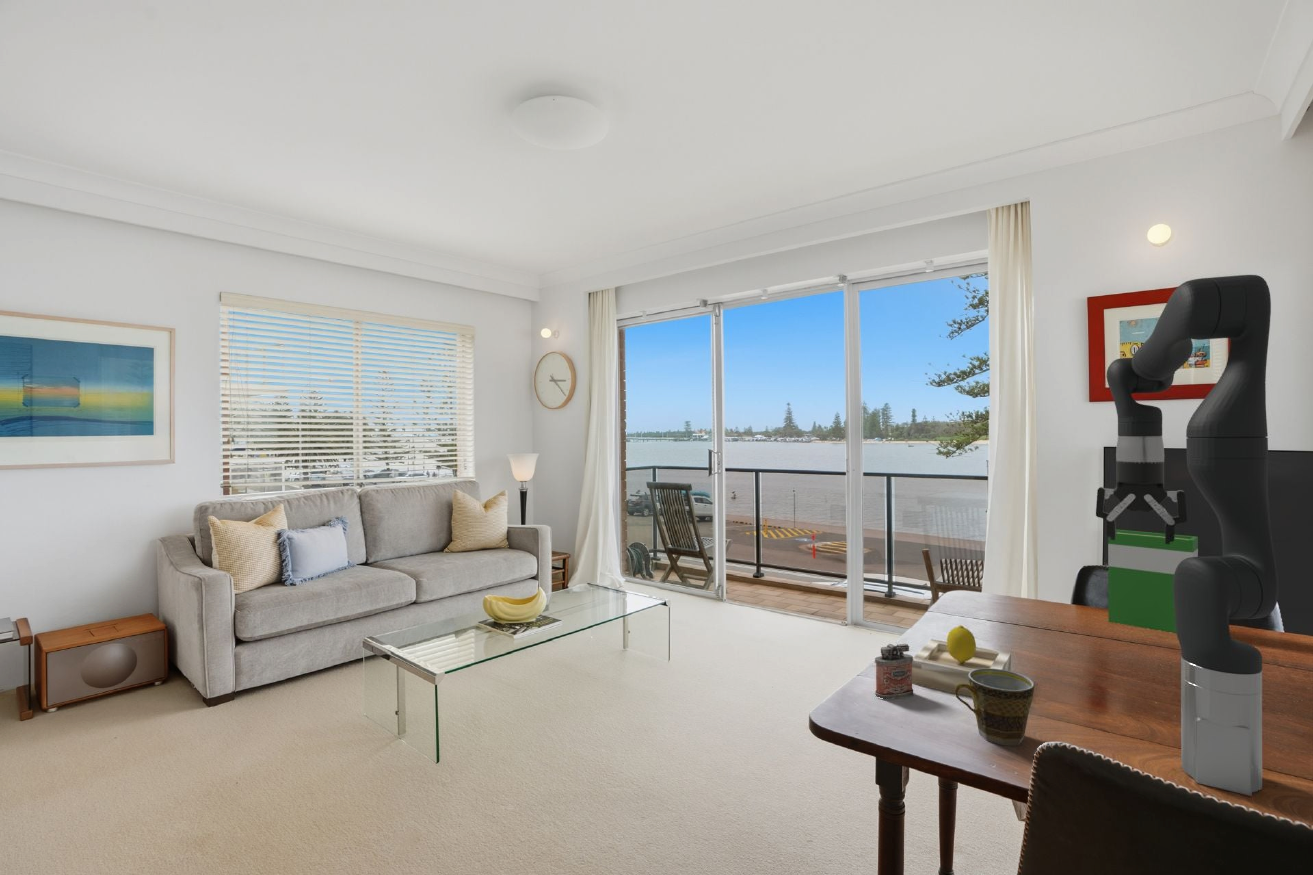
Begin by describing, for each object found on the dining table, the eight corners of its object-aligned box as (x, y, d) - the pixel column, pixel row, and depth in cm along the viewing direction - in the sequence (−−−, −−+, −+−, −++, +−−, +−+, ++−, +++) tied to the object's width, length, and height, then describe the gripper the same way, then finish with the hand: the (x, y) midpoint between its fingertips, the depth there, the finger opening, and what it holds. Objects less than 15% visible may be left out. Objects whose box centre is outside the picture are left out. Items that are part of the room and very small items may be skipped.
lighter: (881, 701, 127) (881, 650, 126) (871, 694, 130) (871, 644, 130) (917, 695, 129) (916, 645, 129) (906, 689, 132) (905, 640, 132)
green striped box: (1108, 621, 174) (1108, 532, 174) (1115, 616, 180) (1115, 529, 179) (1192, 636, 162) (1192, 540, 161) (1197, 630, 167) (1197, 536, 166)
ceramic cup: (1012, 722, 117) (1012, 667, 116) (1048, 750, 107) (1047, 690, 106) (941, 724, 116) (941, 669, 116) (970, 752, 106) (969, 692, 106)
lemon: (979, 669, 133) (978, 630, 133) (950, 667, 134) (949, 629, 134) (972, 659, 139) (971, 622, 139) (944, 658, 140) (943, 621, 140)
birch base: (997, 705, 125) (997, 677, 125) (911, 686, 135) (911, 659, 135) (1011, 679, 138) (1010, 653, 138) (931, 663, 148) (931, 639, 148)
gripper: (1094, 459, 129) (1094, 541, 129) (1187, 461, 120) (1187, 548, 120) (1097, 457, 134) (1097, 536, 135) (1185, 459, 126) (1185, 542, 126)
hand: (1139, 541), depth 127 cm, fingers open, 8 cm apart
